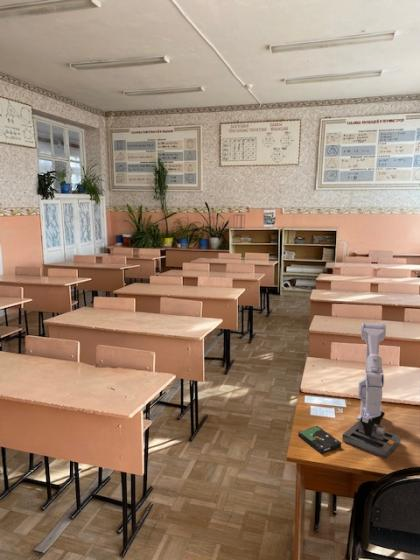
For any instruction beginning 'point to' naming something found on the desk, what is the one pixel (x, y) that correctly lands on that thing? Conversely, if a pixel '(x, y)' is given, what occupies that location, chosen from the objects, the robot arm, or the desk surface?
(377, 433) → the steel panel
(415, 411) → the desk surface
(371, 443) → the rack block
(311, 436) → the disk drive
